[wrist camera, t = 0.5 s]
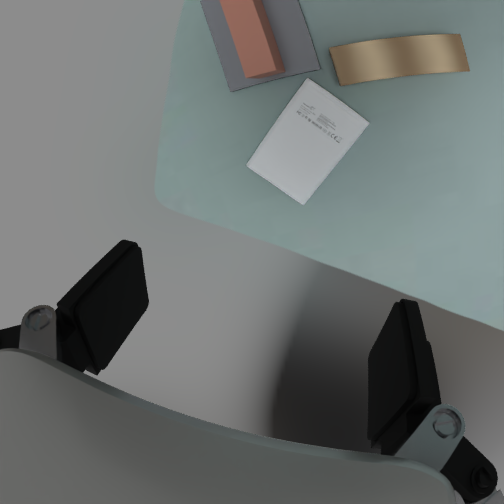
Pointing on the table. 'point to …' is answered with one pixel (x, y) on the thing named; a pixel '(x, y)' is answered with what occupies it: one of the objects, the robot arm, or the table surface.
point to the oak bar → (398, 57)
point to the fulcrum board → (284, 36)
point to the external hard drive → (307, 141)
